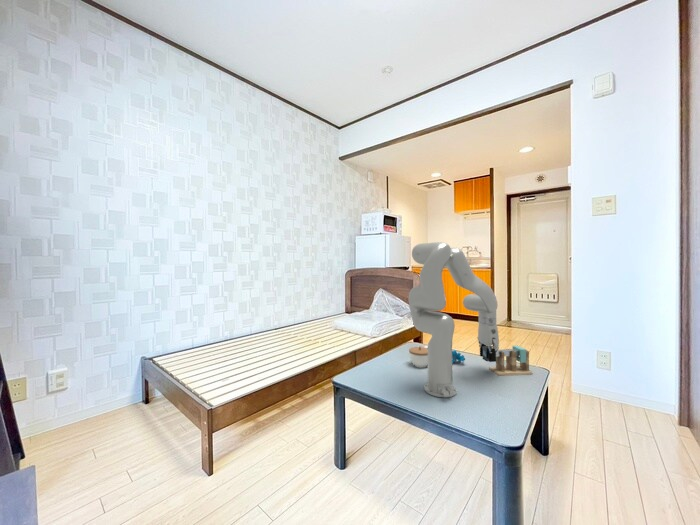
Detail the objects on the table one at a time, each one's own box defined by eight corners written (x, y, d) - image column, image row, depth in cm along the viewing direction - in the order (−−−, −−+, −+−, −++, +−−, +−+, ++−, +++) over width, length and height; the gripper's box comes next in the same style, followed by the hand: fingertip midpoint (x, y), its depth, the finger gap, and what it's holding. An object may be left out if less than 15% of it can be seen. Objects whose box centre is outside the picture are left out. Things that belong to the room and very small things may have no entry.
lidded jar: (408, 368, 141) (408, 349, 140) (410, 360, 151) (410, 342, 151) (430, 370, 137) (430, 350, 137) (431, 362, 148) (431, 344, 148)
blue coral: (469, 360, 145) (459, 349, 142) (465, 371, 142) (454, 359, 139) (451, 357, 154) (440, 346, 151) (447, 367, 151) (436, 356, 148)
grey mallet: (527, 359, 133) (527, 346, 133) (486, 361, 131) (486, 348, 131) (522, 357, 137) (522, 344, 136) (482, 358, 135) (482, 346, 135)
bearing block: (532, 374, 131) (532, 352, 131) (499, 375, 130) (498, 353, 130) (520, 367, 139) (520, 347, 139) (489, 369, 138) (488, 348, 138)
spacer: (526, 362, 132) (526, 349, 132) (521, 362, 132) (520, 349, 131) (517, 358, 138) (517, 345, 138) (512, 358, 137) (512, 345, 137)
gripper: (506, 324, 125) (507, 365, 125) (484, 316, 142) (485, 352, 142) (490, 325, 124) (490, 366, 124) (470, 317, 141) (470, 353, 142)
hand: (487, 358), depth 133 cm, fingers open, 6 cm apart
